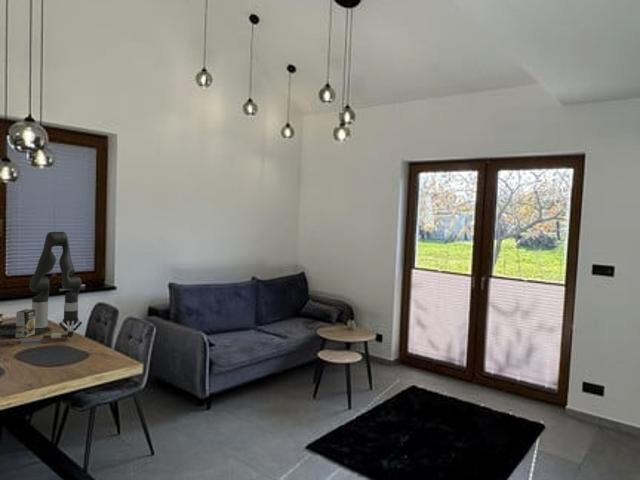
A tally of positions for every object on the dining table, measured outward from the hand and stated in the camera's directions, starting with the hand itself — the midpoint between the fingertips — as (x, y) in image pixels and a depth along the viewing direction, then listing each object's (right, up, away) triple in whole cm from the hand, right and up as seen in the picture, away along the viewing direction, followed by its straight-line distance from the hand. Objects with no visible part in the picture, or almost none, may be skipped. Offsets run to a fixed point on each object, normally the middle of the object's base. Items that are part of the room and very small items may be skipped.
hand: (70, 337), depth 278 cm
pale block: (-7, -1, -3) cm, 8 cm away
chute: (-7, -2, -3) cm, 8 cm away
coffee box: (-30, 0, +4) cm, 31 cm away
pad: (-18, -2, -9) cm, 20 cm away
